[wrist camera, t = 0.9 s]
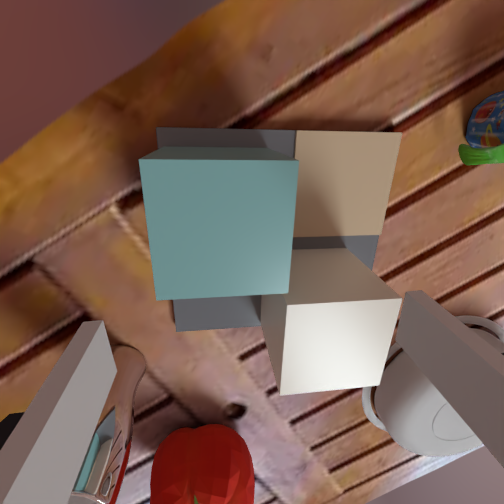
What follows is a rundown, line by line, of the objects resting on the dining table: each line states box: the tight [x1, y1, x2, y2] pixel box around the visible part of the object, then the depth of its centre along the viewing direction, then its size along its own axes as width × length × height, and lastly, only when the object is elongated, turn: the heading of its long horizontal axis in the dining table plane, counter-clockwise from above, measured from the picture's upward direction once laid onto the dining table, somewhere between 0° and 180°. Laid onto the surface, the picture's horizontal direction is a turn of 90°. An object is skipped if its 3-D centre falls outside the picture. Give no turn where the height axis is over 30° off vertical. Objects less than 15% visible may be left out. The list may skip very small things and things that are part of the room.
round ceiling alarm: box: [362, 315, 504, 457], centre depth 41 cm, size 25×25×6 cm
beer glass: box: [67, 345, 146, 504], centre depth 28 cm, size 7×7×15 cm
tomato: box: [150, 424, 255, 504], centre depth 37 cm, size 14×13×10 cm
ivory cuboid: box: [260, 248, 402, 395], centre depth 28 cm, size 9×9×10 cm
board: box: [156, 127, 402, 332], centre depth 30 cm, size 22×21×1 cm
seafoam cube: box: [139, 146, 299, 300], centre depth 23 cm, size 9×9×10 cm
